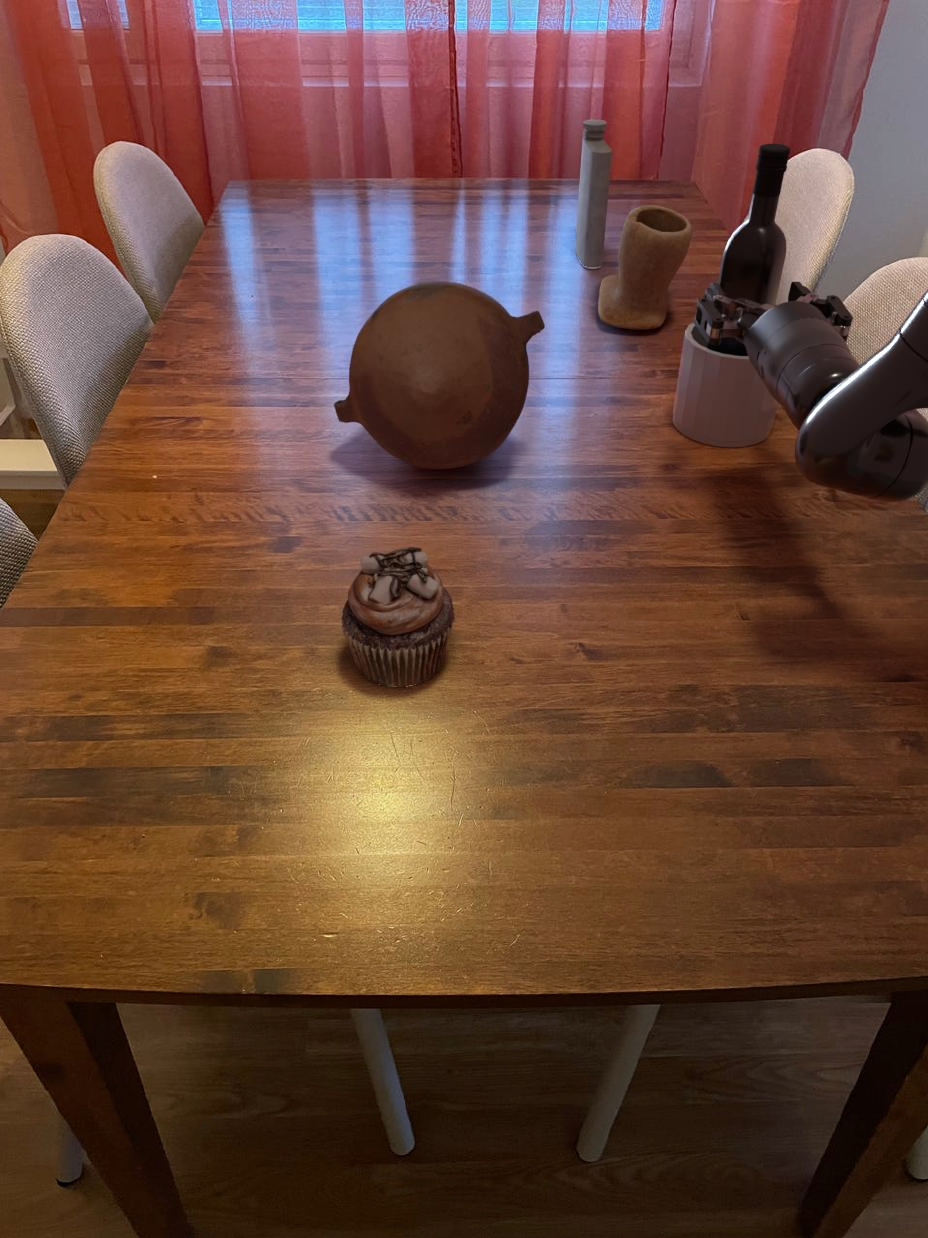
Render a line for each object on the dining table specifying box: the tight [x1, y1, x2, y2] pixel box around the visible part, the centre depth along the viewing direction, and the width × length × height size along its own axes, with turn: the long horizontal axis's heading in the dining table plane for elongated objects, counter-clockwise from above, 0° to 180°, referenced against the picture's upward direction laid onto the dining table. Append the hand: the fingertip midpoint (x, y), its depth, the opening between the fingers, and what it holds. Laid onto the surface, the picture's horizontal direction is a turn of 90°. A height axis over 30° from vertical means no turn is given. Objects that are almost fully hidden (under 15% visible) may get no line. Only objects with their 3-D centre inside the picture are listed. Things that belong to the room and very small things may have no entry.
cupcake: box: [340, 546, 456, 688], centre depth 80 cm, size 10×10×10 cm
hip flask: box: [574, 119, 613, 267], centre depth 152 cm, size 16×4×20 cm, turn 179°
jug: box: [333, 280, 546, 470], centre depth 107 cm, size 20×20×30 cm
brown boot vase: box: [597, 204, 693, 331], centre depth 134 cm, size 15×12×15 cm
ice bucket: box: [671, 321, 779, 448], centre depth 111 cm, size 12×12×11 cm
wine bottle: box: [707, 143, 791, 356], centre depth 104 cm, size 6×6×30 cm
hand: (752, 291), depth 99 cm, fingers open, 8 cm apart
